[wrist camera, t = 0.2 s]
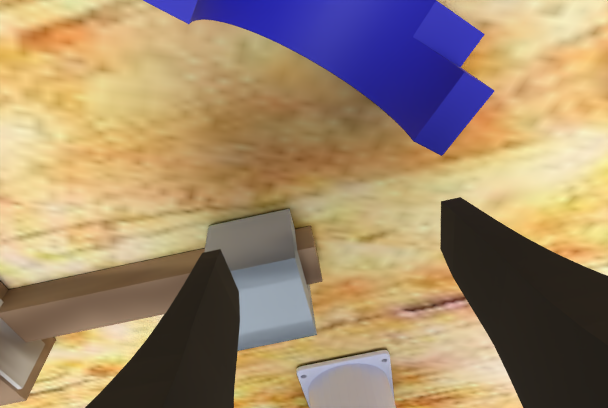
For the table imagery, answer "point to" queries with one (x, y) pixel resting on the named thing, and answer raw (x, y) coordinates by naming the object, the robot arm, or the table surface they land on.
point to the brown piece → (95, 308)
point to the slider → (266, 278)
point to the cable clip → (372, 53)
